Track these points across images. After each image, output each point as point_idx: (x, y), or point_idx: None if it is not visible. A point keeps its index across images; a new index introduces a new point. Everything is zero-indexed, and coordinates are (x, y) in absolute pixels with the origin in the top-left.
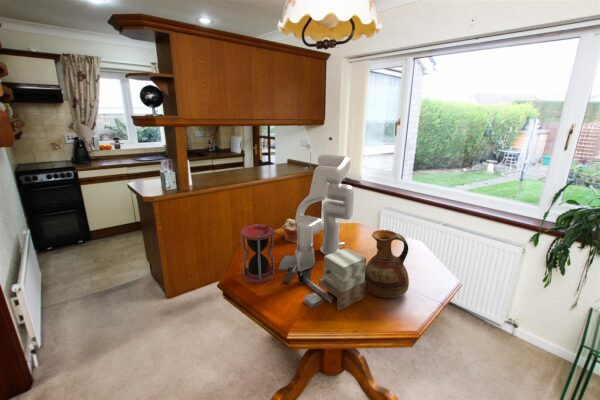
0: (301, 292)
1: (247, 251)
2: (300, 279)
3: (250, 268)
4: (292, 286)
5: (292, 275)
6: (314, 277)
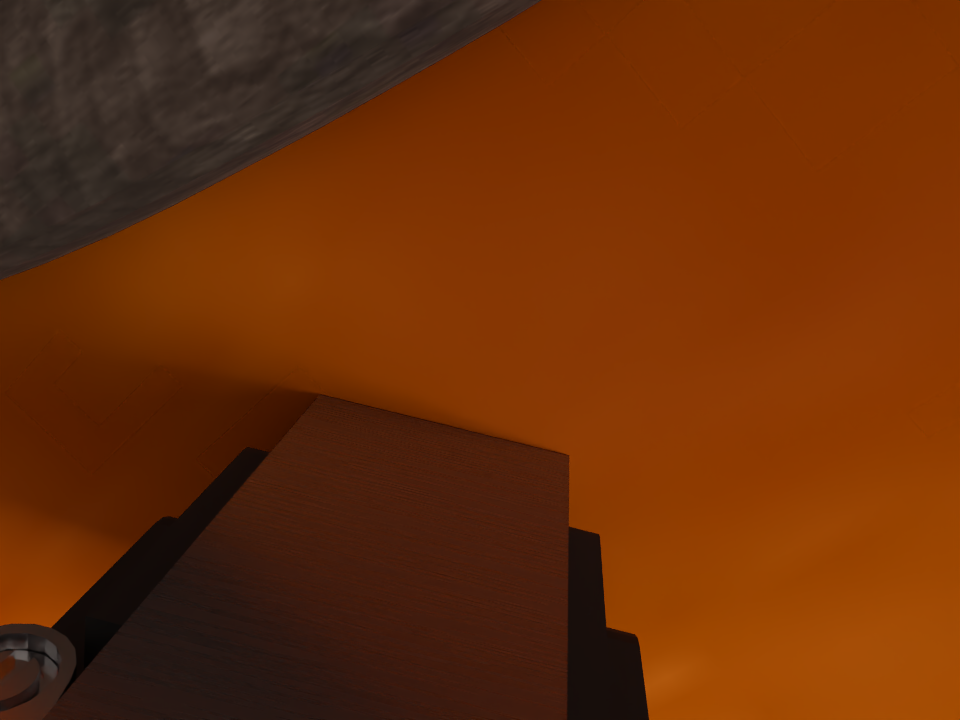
0: None
1: None
2: None
3: None
4: (20, 419)
5: (248, 118)
6: (822, 629)
